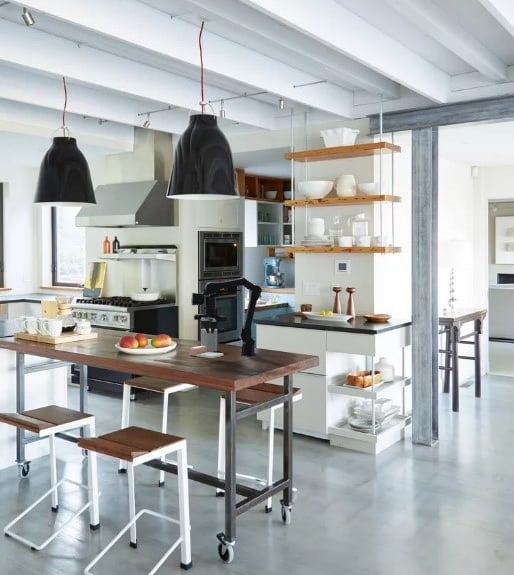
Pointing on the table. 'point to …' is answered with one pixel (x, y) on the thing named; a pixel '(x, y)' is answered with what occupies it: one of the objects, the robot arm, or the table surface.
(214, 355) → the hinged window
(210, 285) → the robot arm
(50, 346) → the table surface
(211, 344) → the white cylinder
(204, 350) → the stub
